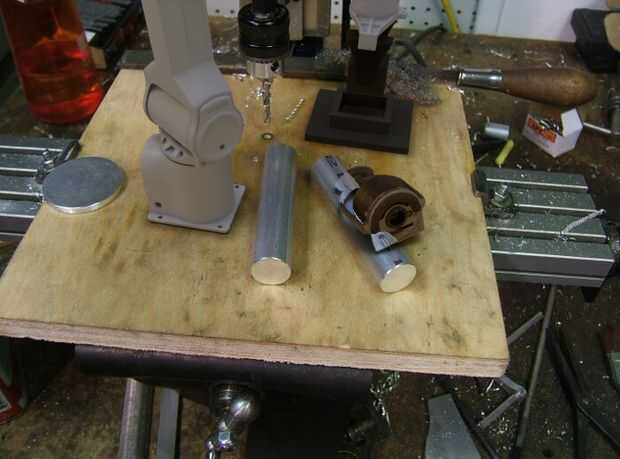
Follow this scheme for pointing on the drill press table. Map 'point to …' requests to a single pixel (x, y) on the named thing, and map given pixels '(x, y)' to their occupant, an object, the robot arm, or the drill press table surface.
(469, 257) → the drill press table surface
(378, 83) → the dark brown block
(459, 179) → the drill press table surface
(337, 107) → the base pad
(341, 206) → the brown bearing housing
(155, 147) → the robot arm
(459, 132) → the drill press table surface
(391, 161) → the drill press table surface
